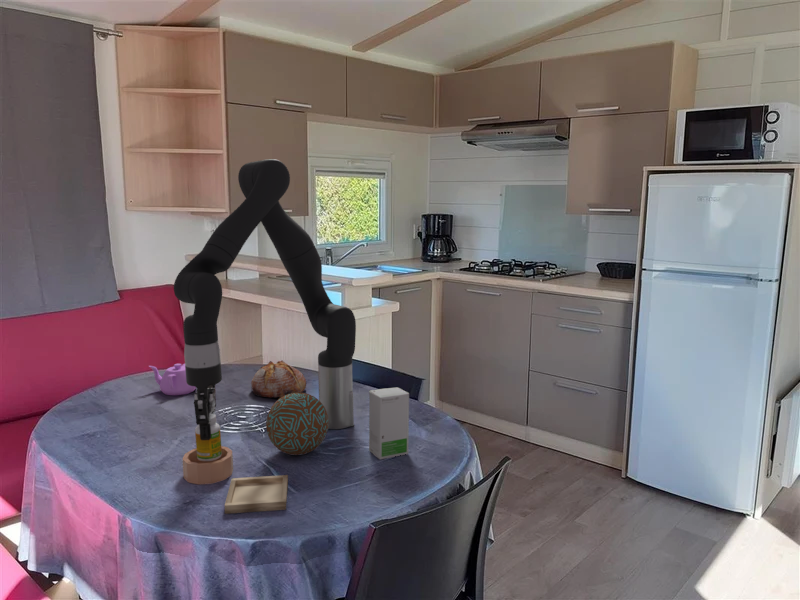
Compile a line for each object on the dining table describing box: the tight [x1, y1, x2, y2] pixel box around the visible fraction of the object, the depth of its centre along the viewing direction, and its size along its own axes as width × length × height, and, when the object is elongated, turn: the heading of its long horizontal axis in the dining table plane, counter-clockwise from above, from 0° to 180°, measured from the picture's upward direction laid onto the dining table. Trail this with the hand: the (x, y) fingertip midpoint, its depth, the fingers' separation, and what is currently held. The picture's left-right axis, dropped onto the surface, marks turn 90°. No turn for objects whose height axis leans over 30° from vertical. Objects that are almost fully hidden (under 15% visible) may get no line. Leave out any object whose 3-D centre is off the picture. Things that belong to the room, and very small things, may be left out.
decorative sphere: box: [265, 392, 329, 456], centre depth 153 cm, size 15×15×15 cm
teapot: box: [148, 363, 197, 396], centre depth 200 cm, size 12×14×9 cm
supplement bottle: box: [194, 413, 222, 461], centre depth 141 cm, size 5×5×10 cm
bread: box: [250, 360, 307, 399], centre depth 201 cm, size 16×20×10 cm
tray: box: [224, 474, 289, 515], centre depth 131 cm, size 12×12×2 cm
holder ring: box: [182, 445, 234, 485], centre depth 142 cm, size 10×10×4 cm
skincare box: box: [368, 387, 410, 460], centre depth 153 cm, size 8×7×16 cm
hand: (208, 433), depth 141 cm, fingers closed on supplement bottle, 5 cm apart
